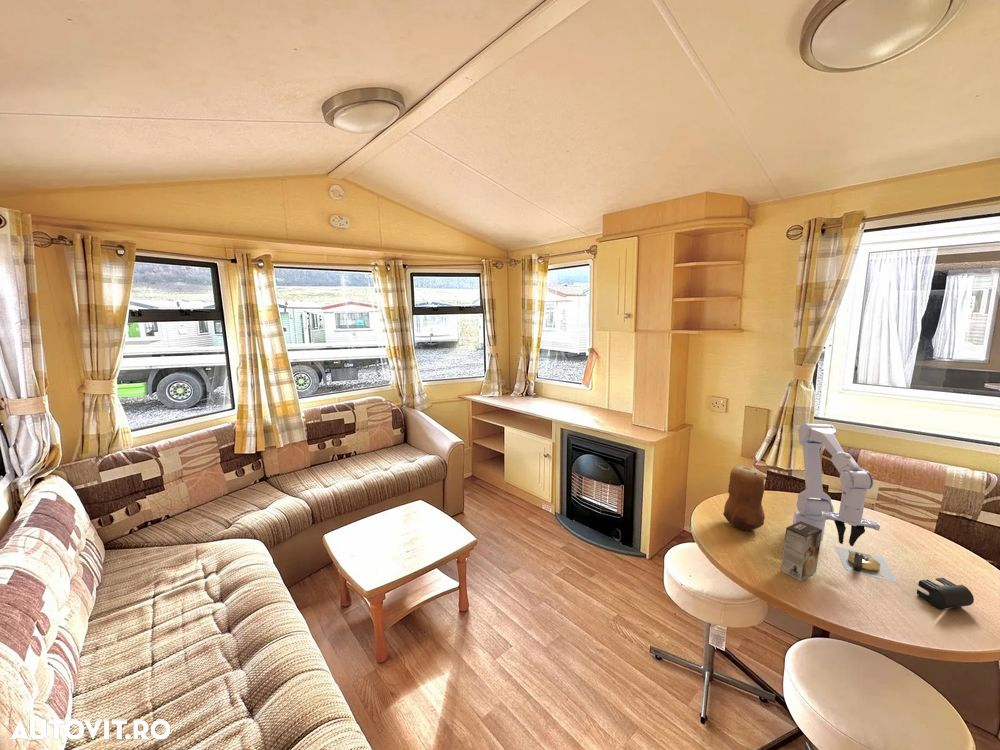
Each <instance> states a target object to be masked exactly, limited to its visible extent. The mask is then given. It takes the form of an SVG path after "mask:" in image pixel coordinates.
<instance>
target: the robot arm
mask: <svg viewBox="0 0 1000 750" xmlns="http://www.w3.org/2000/svg"><path fill="white" fill-rule="evenodd" d="M797 433H798V443H799V445H801V446H802V453H803V454H802V456H803V468H804V479H805V480H804V482H805V489H804V490H802V491H801V492H800V493H798V494H797V501H796V507H797V508H796V509H797V511H796V512H794V514H793V519H792V525H793V524H795V523H798V522H800V521H802V522H804V523H807V524H810V525H812V526H814V527H817V528H819V529H822V533H821V541H823V540H824V535H825V529H826V521H828V520H829V521H833V522H834V524H835V527H836V530H837V536H838V542H839V544H841V545H843V543H844V539H845V536H844V535H845V532H846V529H847V527H846V524H848V525H849V526H850V527H851V528H850V535H849V539H848V543H849V546H850V547H854V545H855V543H856V542H857V540H858V539H859V538H860V537H861V536H862V535H864V534H865V532H866V529H865V528H869V529H874V530H875V531H880V529H881V524H880V523H879V522H877V521H873V520H871V519H870V520H869V519H867V518H863V515H864V514H863V513H864V508H865V504H866V503H865V502H866V496H867V490H871V489H872V488H873V486H874V478H873V476H872V474H871V473H870V471H868V470H865V469H864V468H861V467H860V466H859V464H858V463H857V462H856V460H855V459H854V457H853V456H852V454H850V453H848V452H845V451H844V450H843V448H842V446H841V445H840V443H839V441H838V439H837V430H836V428H835V427H834V425H833V424H831V423H807V422H803V423H801V424H800V425H799V426H798V429H797ZM822 447H824V448H825V449H826V450H827V452H828V453H829V454H830V455H831V456H832V457H831V460H830V461H831V463H832V464H833V466H834V467H835V468H836V470H837V471H838V473H839V482H840V490H841V491H842V492H841V496H840V497H841V499H840V505H839V512H835V508H834V505H833V502H832V498H831V496H829V494H827V493H826V492H824V489H823V478H822V477H823V476H822V465H821V462H822V461H821V451H820V450H821V448H822Z"/></svg>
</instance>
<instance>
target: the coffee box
mask: <svg viewBox="0 0 1000 750" xmlns="http://www.w3.org/2000/svg"><path fill="white" fill-rule="evenodd" d="M821 533H822V529H819V528H817V527H814V526H812V525H810V524H807V523H804V522H802V521H800V522H798V523H795V524H793V523H792V524H790V525H789V526H787V527H786V529H785V537H784V544H783V552H782V558H781V559H782V560H781V568H780V571H781V572H782V573H784V574H785V575H787V576H789V577H792V578H793V579H795V580H797V581H799V582H803V581H805V580H807V579H808V578H810V577H811V576H812V574H814V573H816V572H817V569H818V560H819V554H820V547H821V546H820V545H821V541H822V540H821Z"/></svg>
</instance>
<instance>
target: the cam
mask: <svg viewBox="0 0 1000 750" xmlns="http://www.w3.org/2000/svg"><path fill="white" fill-rule="evenodd" d="M858 552H859V551H857V552H856V553H850V554H849V556H848V561H849V562H850V563H851V564H853V569H854V570H856V571H861V569H863V570H866V571H872V572H877V571H879V570H880V563H879V562H878V561H876V560H875V559H873V558H871V557H869V556H866V555H863V554H861V553H858Z"/></svg>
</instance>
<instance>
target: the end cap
mask: <svg viewBox="0 0 1000 750" xmlns="http://www.w3.org/2000/svg"><path fill="white" fill-rule="evenodd" d="M935 580H936V581H937V582H939V583H940V584H937V583H935V582H933V581H932V580H930V579H921V580H919V581H918V583H917V586H918V587H920V588H921V589H923V590H925V591H926V592H924V591H923V590H920V589H919V588H918V589H916V595H918V596H920V597H921V598H923V599H925V600H926V601H928V602H929V603H930V606H932V607H933V608H935V609H937V610H945V609H954V608H960V607H961V608H962V607H968V606H971V605H973V604H974V601H975V599H974V595H973V593H972V592H971V591H970V589H969V588H968V587H967V586H966V585H963V584H955V583H954V582H952V581H950V580H949V579H946V578H945V577H938V578H935ZM941 584H942V585H941Z"/></svg>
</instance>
